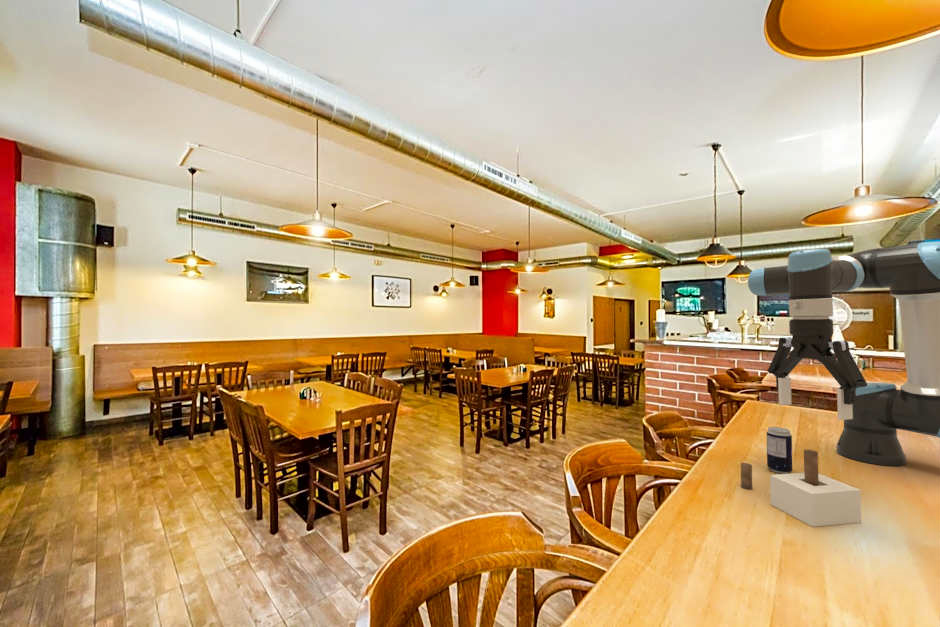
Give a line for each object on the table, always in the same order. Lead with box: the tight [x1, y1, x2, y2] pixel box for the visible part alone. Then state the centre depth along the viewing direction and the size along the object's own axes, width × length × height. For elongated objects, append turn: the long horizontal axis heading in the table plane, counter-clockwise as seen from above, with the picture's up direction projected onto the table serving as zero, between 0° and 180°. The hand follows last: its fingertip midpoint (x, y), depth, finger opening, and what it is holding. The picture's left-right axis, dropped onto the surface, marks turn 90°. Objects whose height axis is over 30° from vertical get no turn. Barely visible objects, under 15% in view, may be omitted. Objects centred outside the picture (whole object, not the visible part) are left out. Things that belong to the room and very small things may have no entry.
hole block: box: [769, 472, 862, 528], centre depth 89 cm, size 12×10×7 cm
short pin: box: [740, 462, 753, 490], centre depth 102 cm, size 2×2×6 cm
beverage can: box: [766, 426, 793, 474], centre depth 112 cm, size 6×6×12 cm
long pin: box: [803, 449, 819, 486], centre depth 89 cm, size 2×2×14 cm
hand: (812, 411), depth 89 cm, fingers open, 13 cm apart
